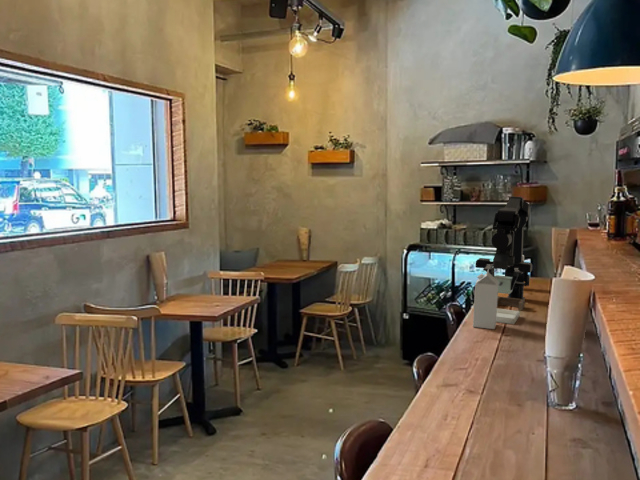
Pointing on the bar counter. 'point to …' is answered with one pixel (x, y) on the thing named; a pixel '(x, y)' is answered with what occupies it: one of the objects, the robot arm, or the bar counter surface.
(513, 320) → the tray
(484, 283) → the milk carton
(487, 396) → the bar counter surface
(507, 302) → the dock
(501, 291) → the block with peg handle
